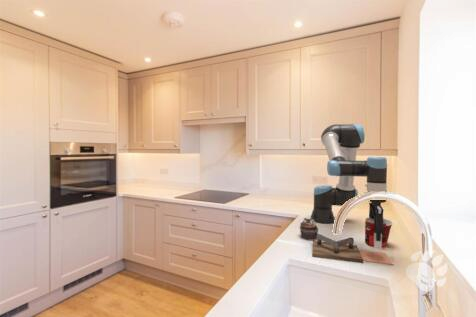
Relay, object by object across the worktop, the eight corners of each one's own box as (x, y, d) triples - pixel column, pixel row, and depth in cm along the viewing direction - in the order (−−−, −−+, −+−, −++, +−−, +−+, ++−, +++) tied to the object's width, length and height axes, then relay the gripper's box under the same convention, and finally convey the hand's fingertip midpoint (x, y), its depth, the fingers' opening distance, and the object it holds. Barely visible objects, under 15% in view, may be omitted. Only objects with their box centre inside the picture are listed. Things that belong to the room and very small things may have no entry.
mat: (358, 250, 114) (358, 249, 114) (385, 253, 110) (385, 252, 110) (363, 261, 102) (363, 260, 102) (393, 265, 99) (393, 264, 99)
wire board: (312, 243, 122) (312, 231, 122) (356, 248, 116) (356, 236, 116) (312, 256, 106) (312, 243, 106) (363, 263, 100) (363, 248, 100)
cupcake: (300, 239, 127) (300, 220, 127) (299, 233, 136) (299, 216, 136) (319, 241, 125) (320, 221, 125) (316, 234, 135) (317, 217, 135)
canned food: (367, 240, 112) (367, 216, 111) (387, 244, 106) (387, 219, 106) (363, 245, 106) (363, 220, 105) (384, 249, 101) (384, 223, 100)
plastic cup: (366, 245, 120) (366, 221, 120) (368, 238, 129) (369, 216, 129) (392, 250, 114) (392, 224, 114) (392, 243, 123) (393, 219, 123)
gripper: (362, 188, 117) (361, 235, 117) (371, 195, 97) (370, 252, 97) (379, 189, 114) (378, 237, 115) (393, 196, 95) (392, 254, 95)
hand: (375, 244), depth 106 cm, fingers closed on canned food, 8 cm apart
